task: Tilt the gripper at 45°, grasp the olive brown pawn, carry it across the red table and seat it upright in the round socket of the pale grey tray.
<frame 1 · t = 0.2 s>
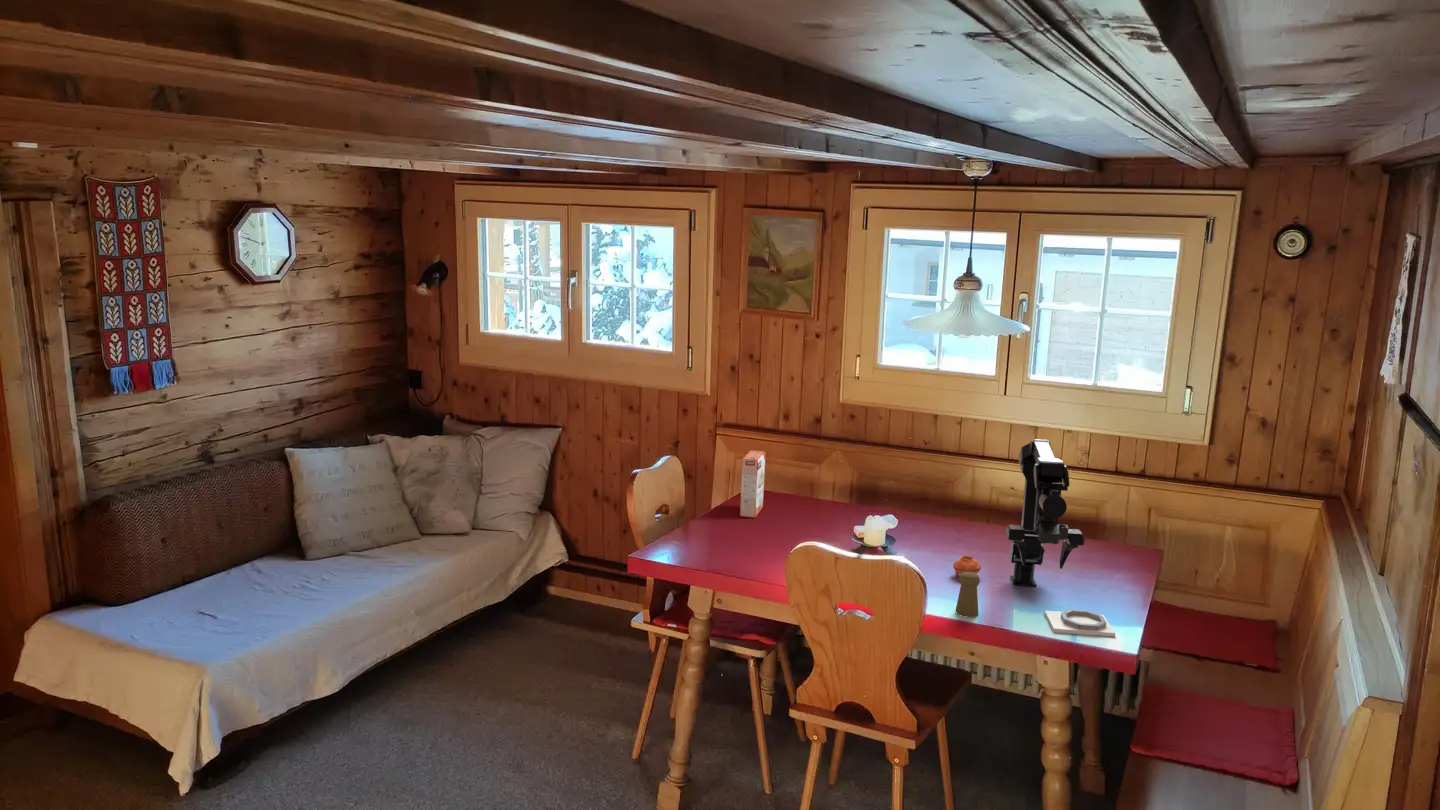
hand: (1042, 567, 257), 14 cm above the table, tool pointing down, fingers open, 9 cm apart
pot: (966, 577, 289), on the table
olive brown pawn: (966, 613, 262), on the table
socket tray: (1078, 625, 256), on the table
cracker box: (752, 512, 348), on the table
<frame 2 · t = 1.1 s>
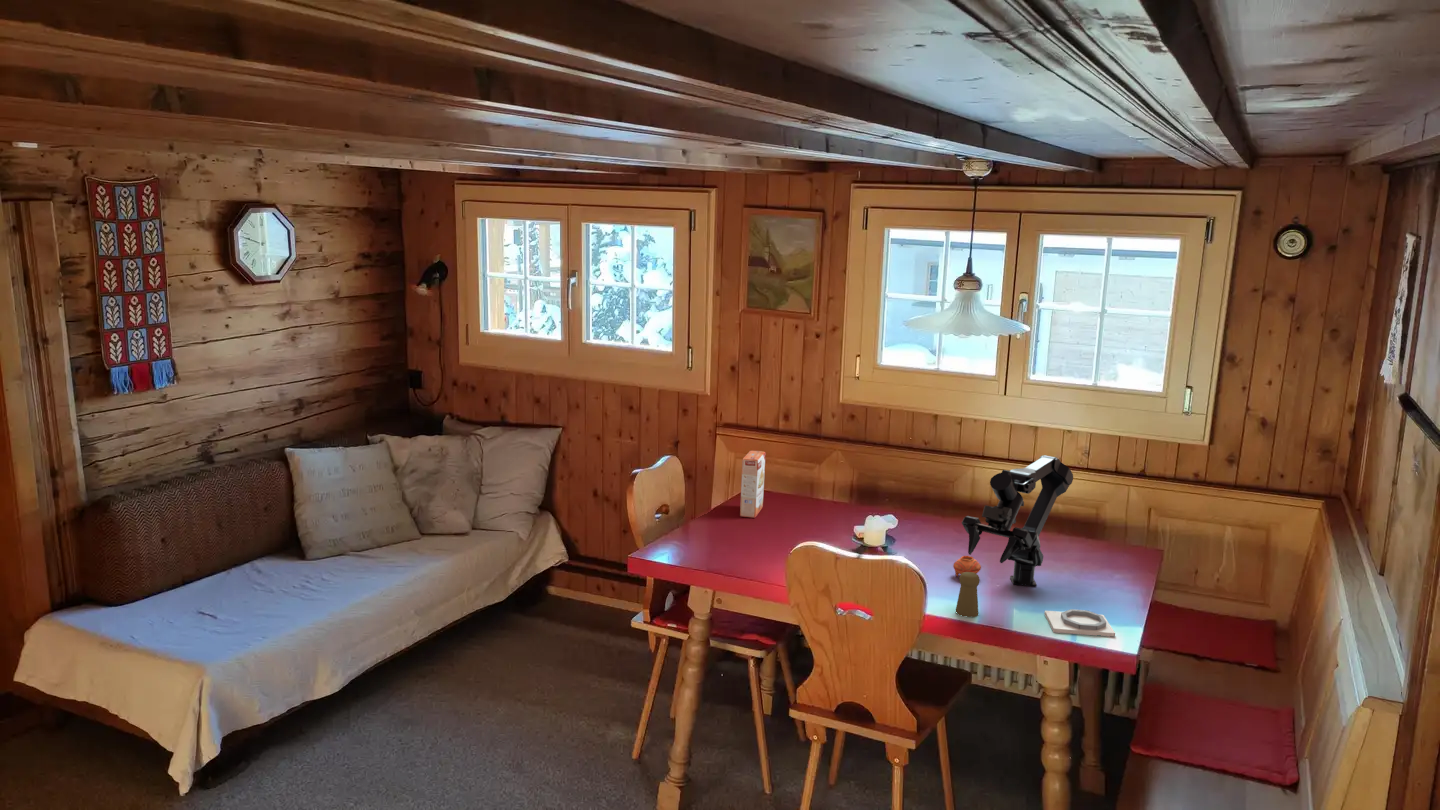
hand: (984, 558, 265), 13 cm above the table, tool tilted 45°, fingers open, 9 cm apart
nothing on the table moved.
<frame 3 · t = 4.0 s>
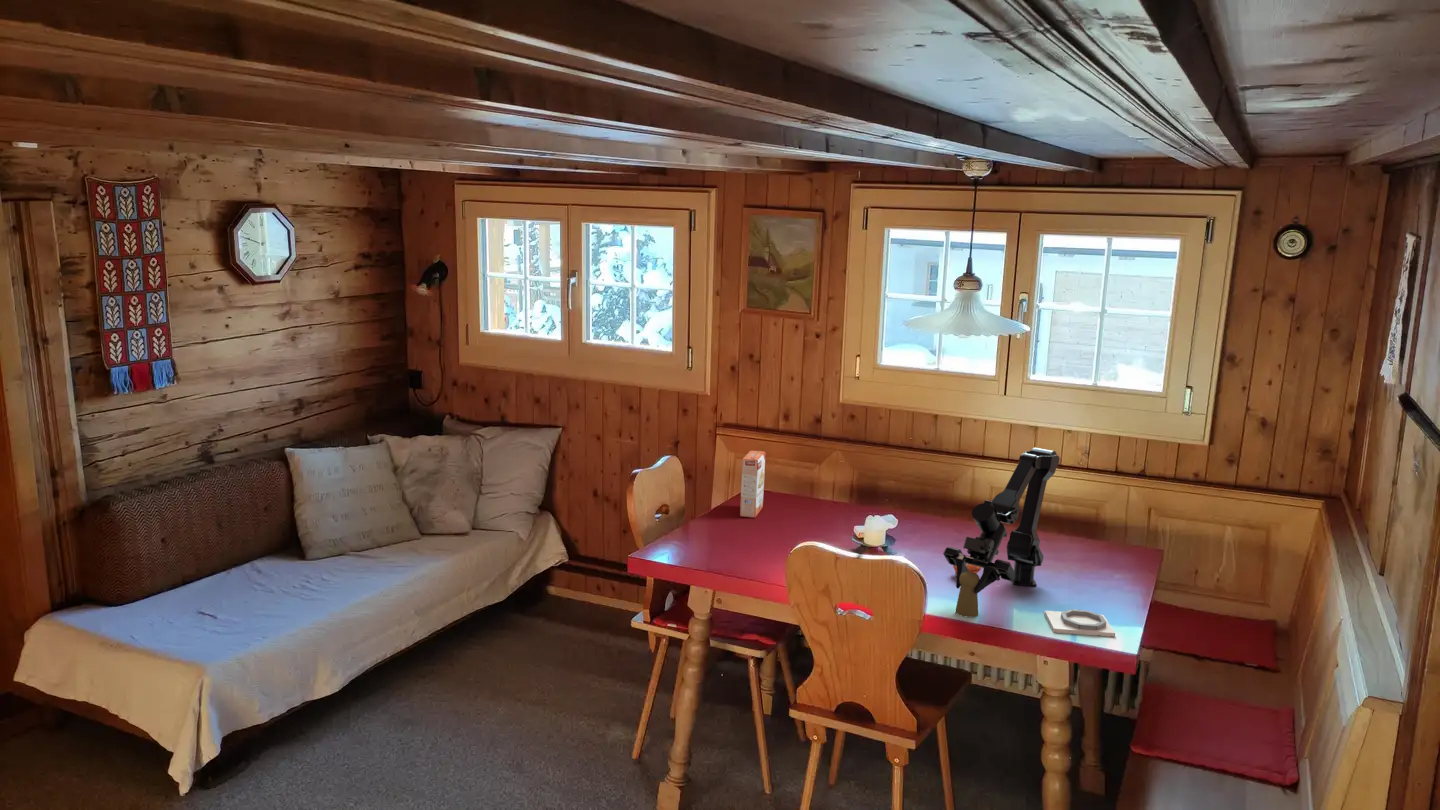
hand: (966, 590, 260), 7 cm above the table, tool tilted 45°, fingers closed on olive brown pawn, 5 cm apart
olive brown pawn: (966, 613, 262), on the table, touching gripper
everything else where it was.
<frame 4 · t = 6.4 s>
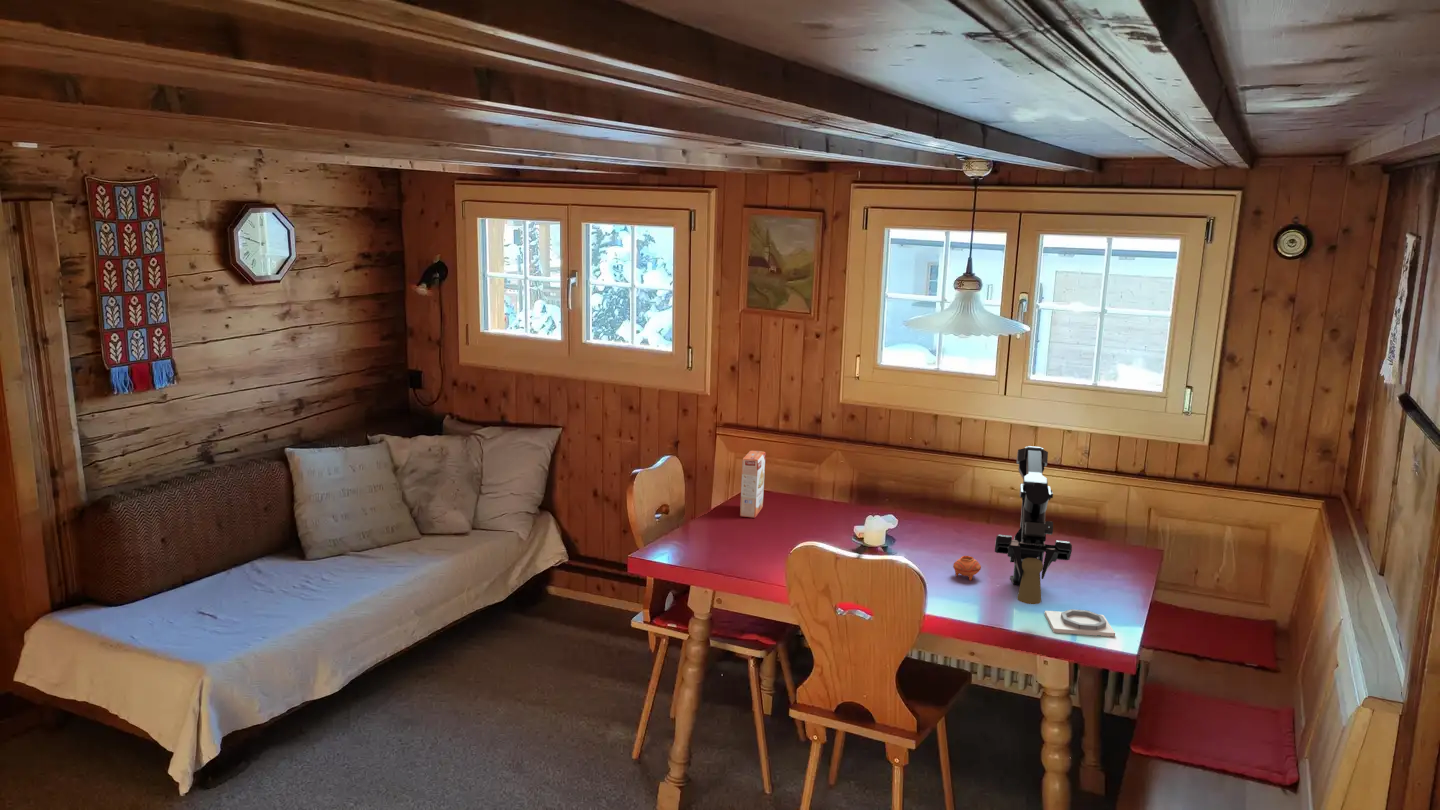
hand: (1031, 577, 252), 13 cm above the table, tool tilted 45°, fingers closed on olive brown pawn, 5 cm apart
olive brown pawn: (1029, 600, 255), point 6 cm above the table, touching gripper
everything else where it was.
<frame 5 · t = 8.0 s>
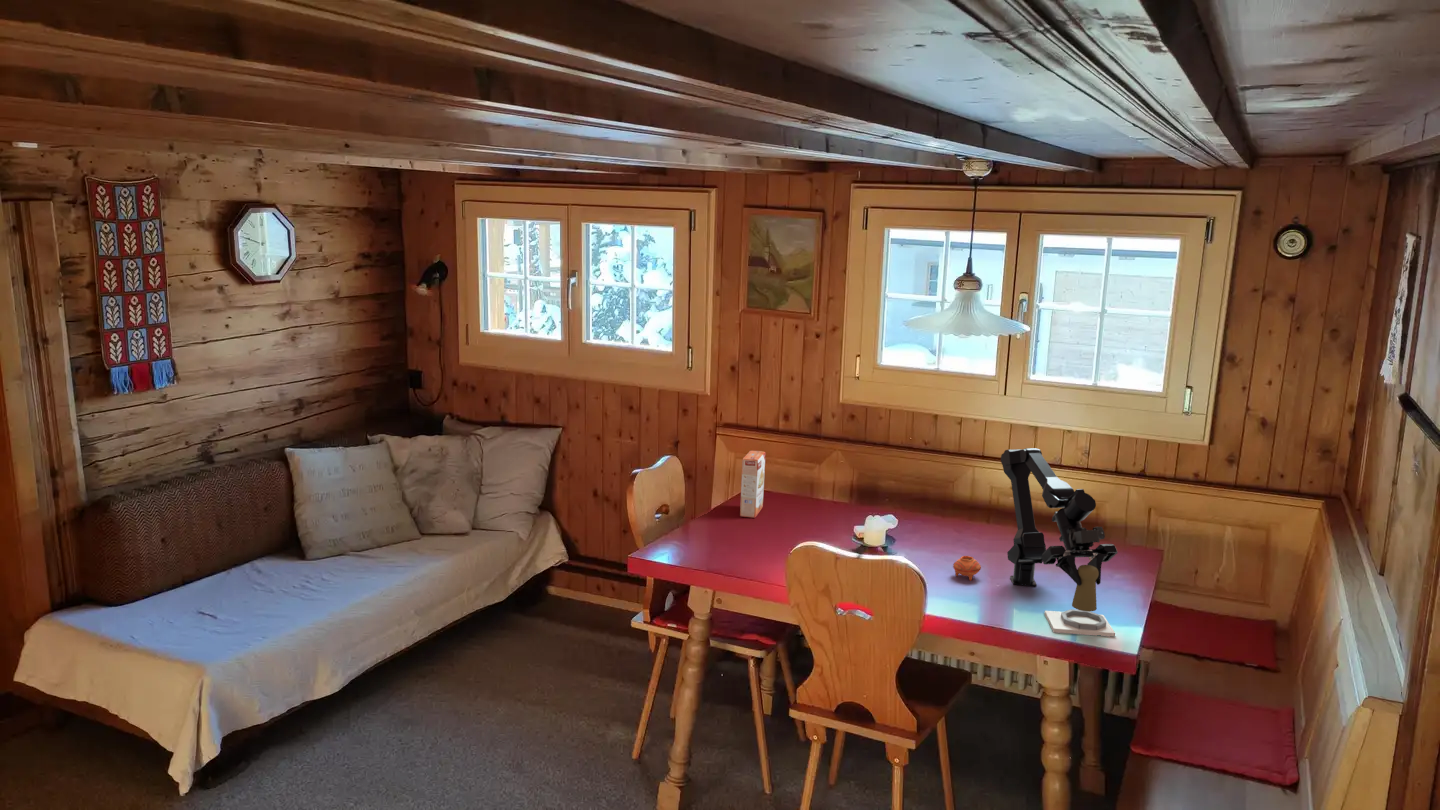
hand: (1089, 584, 253), 12 cm above the table, tool tilted 45°, fingers closed on olive brown pawn, 5 cm apart
olive brown pawn: (1084, 607, 255), point 5 cm above the table, touching gripper
everything else where it was.
when the fingers open (9 cm above the table, at t = 9.3 s): olive brown pawn drops 1 cm, resting on socket tray.
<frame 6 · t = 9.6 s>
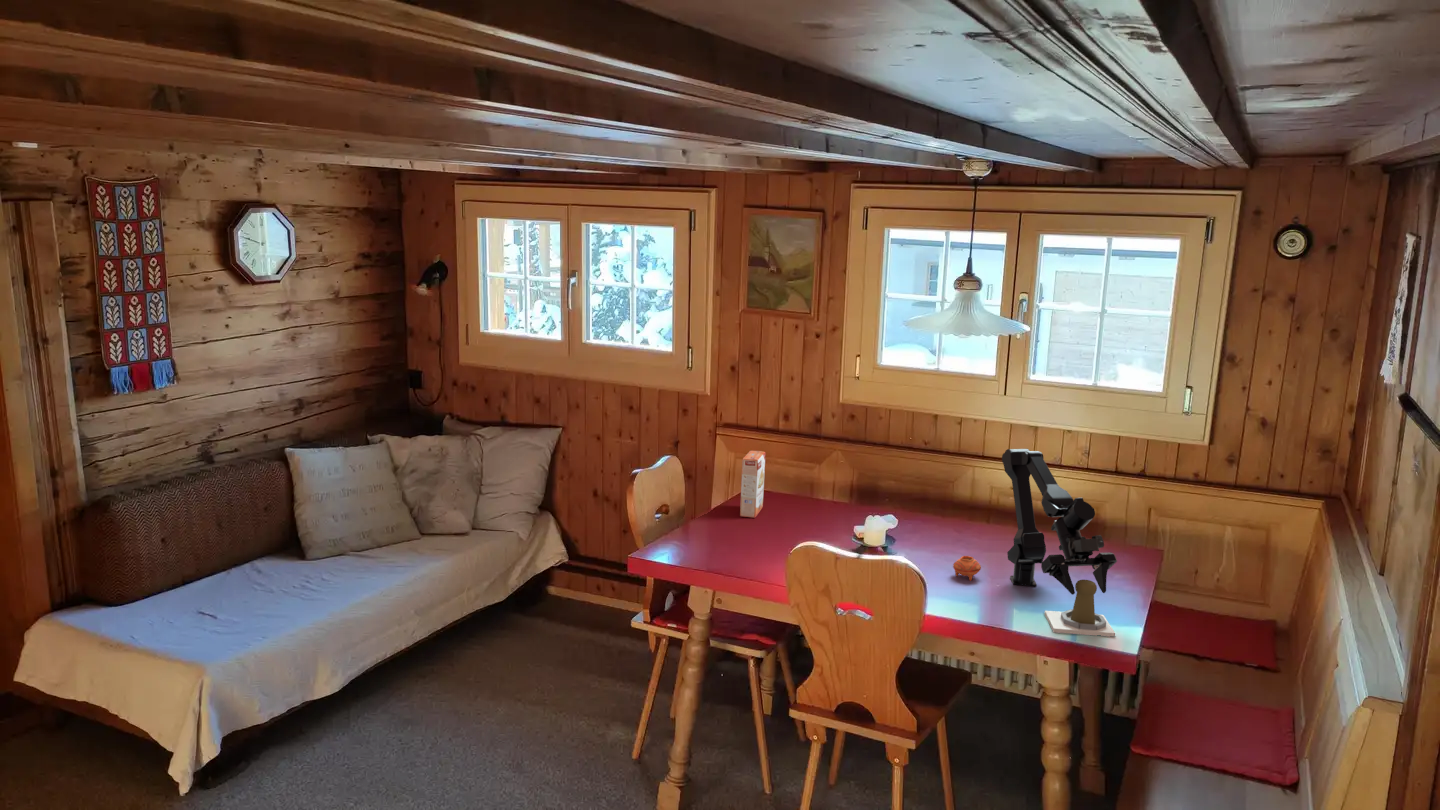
hand: (1089, 593, 253), 9 cm above the table, tool tilted 45°, fingers open, 8 cm apart
olive brown pawn: (1082, 622, 256), point 1 cm above the table, touching socket tray
everything else where it was.
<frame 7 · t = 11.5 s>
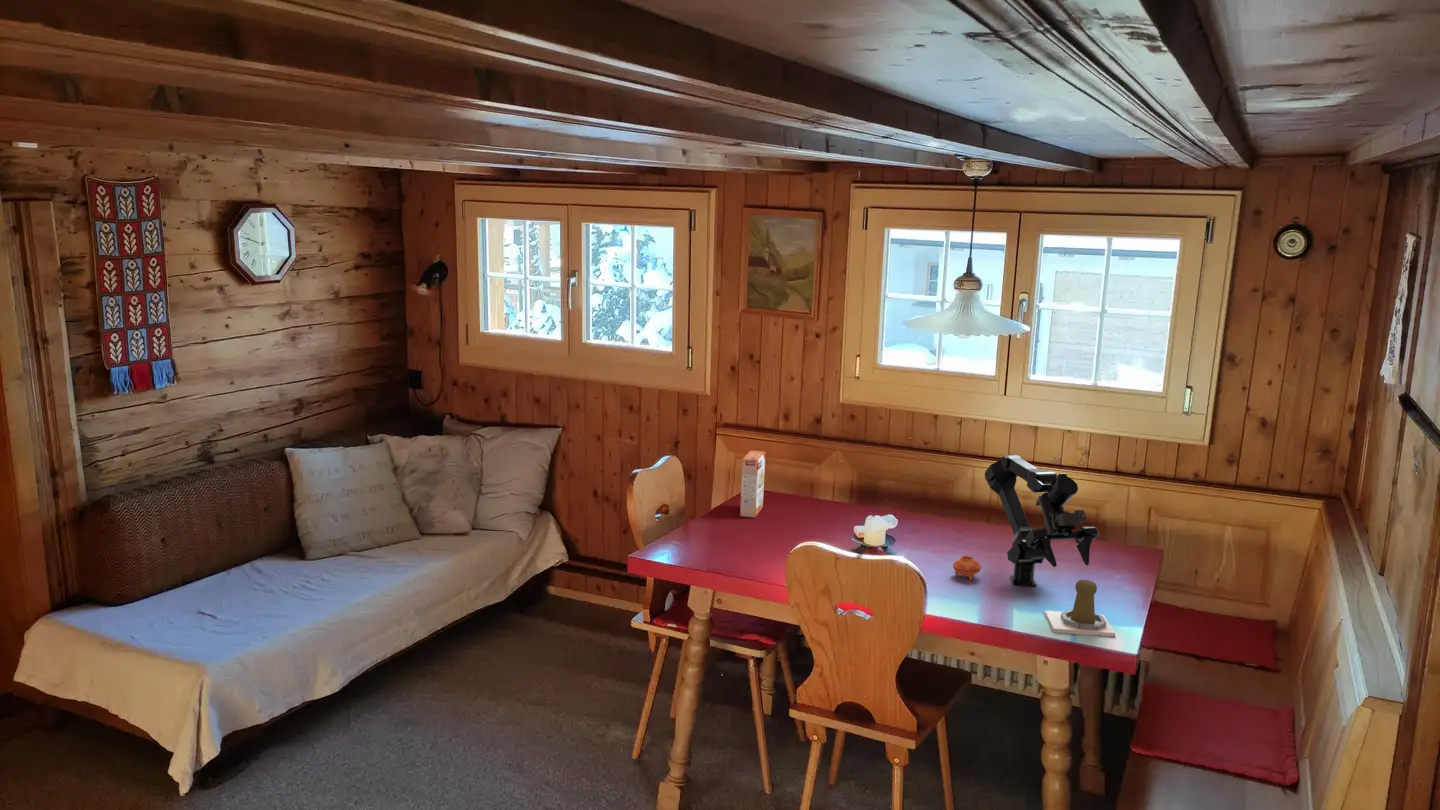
hand: (1071, 565, 261), 14 cm above the table, tool tilted 45°, fingers open, 9 cm apart
nothing on the table moved.
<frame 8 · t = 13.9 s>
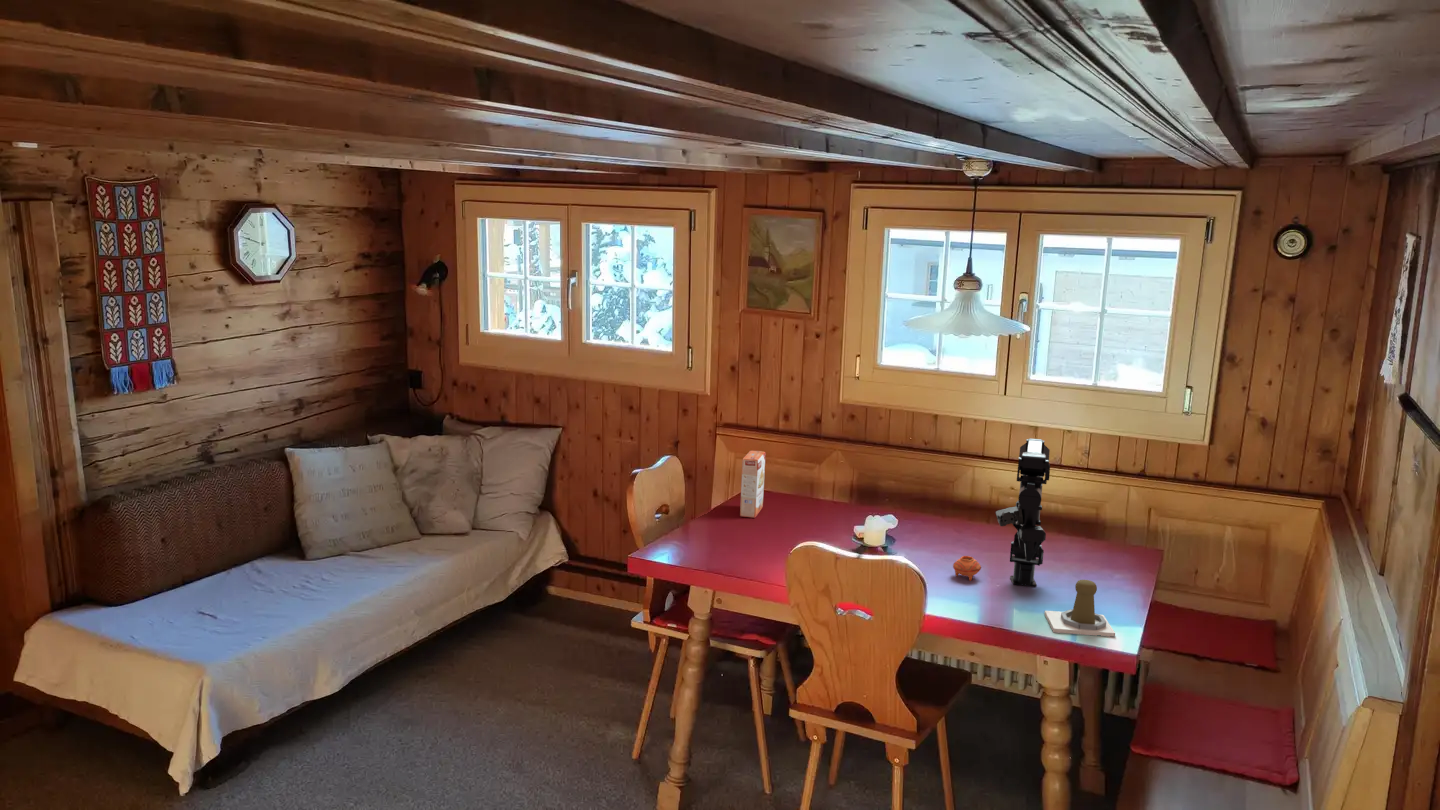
hand: (1025, 555, 270), 13 cm above the table, tool pointing down, fingers open, 9 cm apart
nothing on the table moved.
at the end: olive brown pawn 0.1 cm from the target spot on the socket tray, point 0.8 cm above the socket tray's base; olive brown pawn tilted 0°; the gripper is holding nothing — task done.
